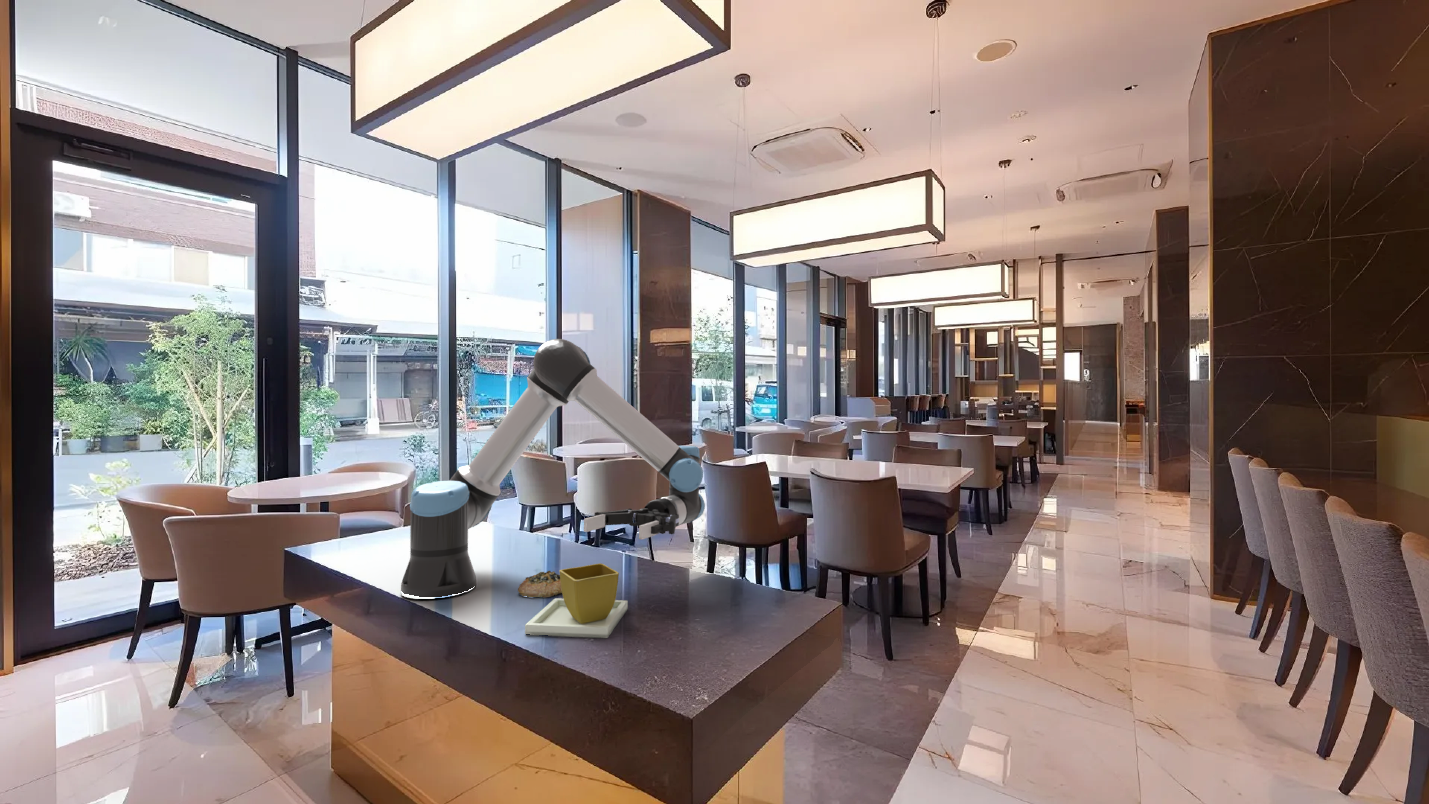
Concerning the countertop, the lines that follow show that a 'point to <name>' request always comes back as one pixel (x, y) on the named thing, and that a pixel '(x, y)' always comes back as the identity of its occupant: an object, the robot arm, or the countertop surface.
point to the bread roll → (541, 585)
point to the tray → (573, 621)
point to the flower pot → (589, 591)
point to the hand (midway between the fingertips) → (612, 528)
